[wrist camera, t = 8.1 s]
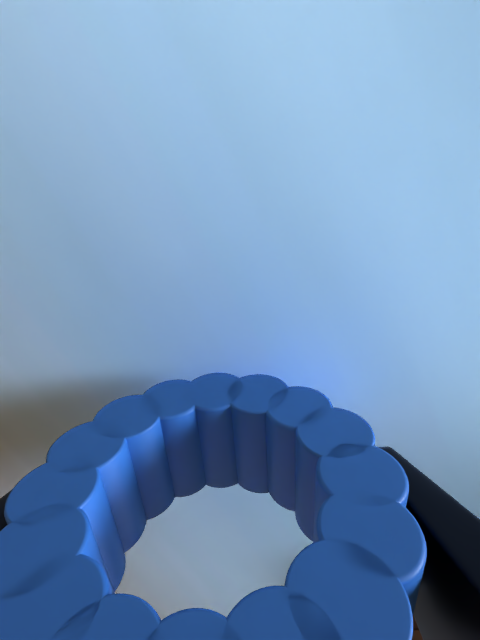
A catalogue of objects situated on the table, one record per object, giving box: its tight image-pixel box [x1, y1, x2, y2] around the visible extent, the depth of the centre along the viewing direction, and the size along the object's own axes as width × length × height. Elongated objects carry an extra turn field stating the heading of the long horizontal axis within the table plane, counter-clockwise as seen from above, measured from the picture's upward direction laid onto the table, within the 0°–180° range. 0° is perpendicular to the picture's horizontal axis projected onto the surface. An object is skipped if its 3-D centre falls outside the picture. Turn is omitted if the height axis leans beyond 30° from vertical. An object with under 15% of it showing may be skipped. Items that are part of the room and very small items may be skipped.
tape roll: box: [0, 373, 427, 640], centre depth 7 cm, size 3×7×7 cm, turn 93°
